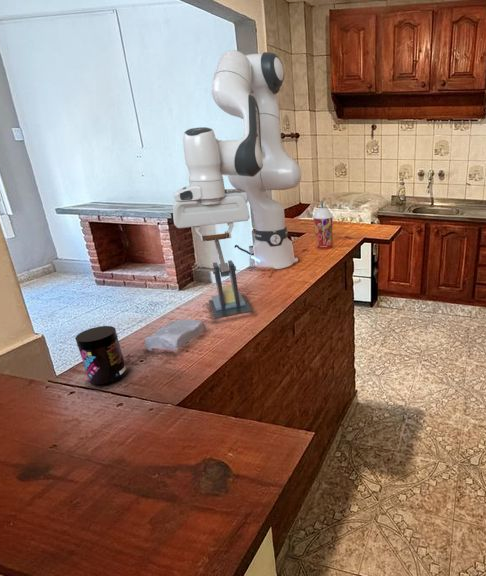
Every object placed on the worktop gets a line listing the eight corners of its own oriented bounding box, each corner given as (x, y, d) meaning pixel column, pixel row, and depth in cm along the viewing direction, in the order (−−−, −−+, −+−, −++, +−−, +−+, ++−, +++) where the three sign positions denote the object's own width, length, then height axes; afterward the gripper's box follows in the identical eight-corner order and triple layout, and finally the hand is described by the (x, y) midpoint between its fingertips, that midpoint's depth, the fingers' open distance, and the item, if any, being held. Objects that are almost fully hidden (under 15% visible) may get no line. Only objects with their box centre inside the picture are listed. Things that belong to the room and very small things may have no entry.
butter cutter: (209, 304, 117) (201, 259, 112) (243, 298, 121) (237, 254, 117) (215, 322, 106) (206, 273, 101) (253, 315, 110) (247, 267, 105)
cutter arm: (205, 239, 115) (204, 233, 113) (225, 236, 117) (224, 231, 115) (215, 278, 108) (214, 272, 107) (235, 274, 111) (235, 269, 109)
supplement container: (97, 371, 84) (84, 327, 81) (132, 367, 86) (120, 324, 82) (83, 390, 78) (68, 343, 74) (121, 385, 79) (107, 339, 76)
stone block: (144, 358, 92) (179, 354, 90) (136, 339, 91) (172, 335, 88) (177, 336, 103) (210, 332, 101) (171, 319, 102) (204, 314, 99)
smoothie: (335, 248, 172) (333, 202, 165) (316, 250, 171) (312, 203, 163) (332, 244, 180) (330, 199, 173) (314, 245, 178) (311, 200, 171)
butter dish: (211, 298, 118) (209, 286, 117) (239, 293, 121) (237, 282, 120) (216, 310, 110) (214, 298, 108) (245, 305, 113) (243, 292, 112)
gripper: (244, 186, 117) (250, 232, 122) (167, 192, 108) (177, 241, 113) (248, 189, 111) (254, 237, 117) (168, 195, 103) (178, 246, 108)
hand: (216, 239), depth 115 cm, fingers closed on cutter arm, 5 cm apart
